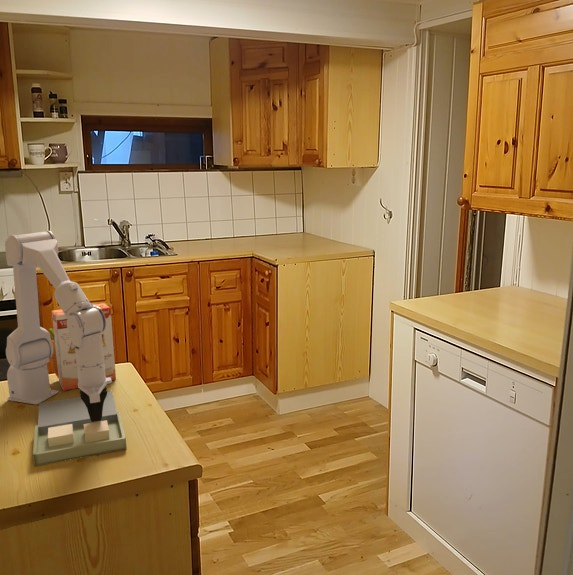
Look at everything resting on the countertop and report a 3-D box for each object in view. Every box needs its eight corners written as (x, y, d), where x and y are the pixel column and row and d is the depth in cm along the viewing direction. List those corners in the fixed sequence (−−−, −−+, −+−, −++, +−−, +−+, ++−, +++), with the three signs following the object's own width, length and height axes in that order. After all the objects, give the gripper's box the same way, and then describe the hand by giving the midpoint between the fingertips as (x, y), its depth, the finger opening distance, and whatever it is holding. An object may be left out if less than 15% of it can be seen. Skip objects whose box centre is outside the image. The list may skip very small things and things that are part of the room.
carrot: (75, 378, 162) (69, 326, 158) (61, 385, 158) (55, 331, 154) (61, 375, 164) (55, 324, 161) (47, 382, 160) (41, 329, 156)
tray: (36, 435, 130) (35, 425, 130) (120, 421, 137) (119, 411, 136) (34, 466, 118) (32, 455, 117) (126, 449, 124) (125, 438, 124)
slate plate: (40, 410, 143) (39, 403, 142) (112, 399, 149) (112, 391, 148) (38, 435, 131) (37, 427, 130) (117, 421, 136) (117, 414, 136)
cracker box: (63, 392, 153) (55, 315, 148) (59, 384, 158) (50, 309, 153) (117, 380, 160) (110, 306, 155) (111, 373, 165) (104, 301, 160)
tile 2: (84, 432, 131) (83, 424, 130) (107, 428, 132) (106, 420, 132) (85, 442, 126) (84, 434, 126) (109, 438, 128) (108, 429, 127)
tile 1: (49, 436, 129) (48, 427, 129) (73, 432, 131) (72, 423, 131) (48, 446, 125) (47, 438, 124) (73, 442, 126) (72, 433, 126)
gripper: (112, 371, 123) (117, 430, 126) (106, 349, 136) (111, 403, 140) (76, 376, 121) (83, 437, 124) (74, 353, 134) (80, 408, 137)
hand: (96, 419), depth 132 cm, fingers closed
